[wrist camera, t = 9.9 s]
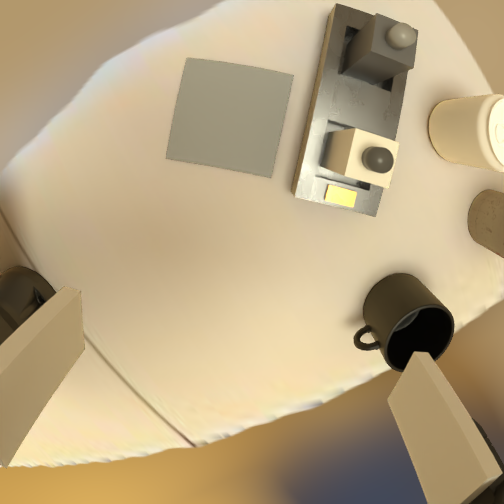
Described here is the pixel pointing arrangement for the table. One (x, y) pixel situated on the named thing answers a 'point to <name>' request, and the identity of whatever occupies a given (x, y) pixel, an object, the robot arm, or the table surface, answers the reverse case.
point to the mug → (405, 321)
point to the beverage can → (470, 131)
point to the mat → (229, 116)
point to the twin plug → (380, 50)
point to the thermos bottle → (488, 221)
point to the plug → (361, 156)
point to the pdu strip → (344, 118)
